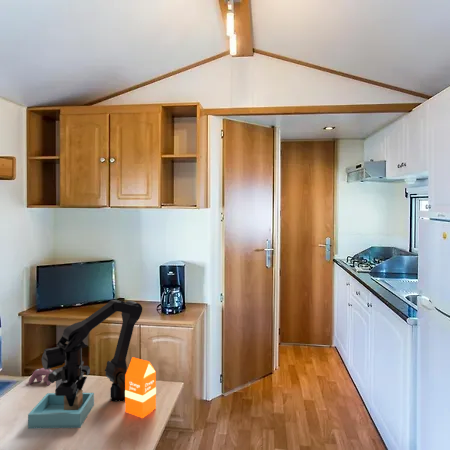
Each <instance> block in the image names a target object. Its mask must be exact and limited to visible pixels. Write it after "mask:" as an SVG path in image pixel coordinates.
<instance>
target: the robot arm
mask: <svg viewBox="0 0 450 450" xmlns="http://www.w3.org/2000/svg"><path fill="white" fill-rule="evenodd" d="M116 312H120V313H121V318H122V324H121V328H120V331H119V335H118V340H117V344H116V348H115V352H114V356H113V358H112V359H111V360H107V362H106V366H105V369H104V372H105V377H106V378H107V379H109V381H110V382H111V387H110V402H125V374H126V372H127V370H128V365H127V356H128V352H129V348H130V343H131V339H132V335H133V331H134V328H135V325H136V323H137V322H138V321H139V320H140V317H141V315H142V313H143V306H142V305H141V304H140V303H138V302H135V301H133V300H126V301H121V300H115V299H111V300H109V301H108V302H107V303H106V304H105V305H103V306H101V307H100V308H99V309H98V310H96V311H95V312H93V313H92V314H90V315H89V316H87V317H86V318H84V319H83V320H82V321H78V322H77V321H76V322H75V323H73V324H71V325H69V326H67V327H65V328H64V330H63V332H62V335H61V337H60V338H59V340H58V341H57V343H56V347H51V348H45V349H44V350H43V353H42V357H41V365H42V368H44V369H45V370H46V369H54V368H56V367H58V368H56V369H54V370H53V371H52V372H50V374H49V375H48V381H49V382H51V383H50V384H53V383H56V381H58V380H61V379H62V381H66V380H67V382H66V383H61V384H60V385H59V386H58V387H57V388H56V387H55V389H54V393H55V395H56V396H66V398H67V401H68V404H69V406H73V404H74V401H75V398H76V395H77V392H78V390H83V387H84V385H85V383H86V380H87V379H88V378H87V377H88V375H90V373H91V368H90V366H89V365H84V364H85V361H84V360H83V356H82V355H83V353H82V352H83V349H84V348H85V349H86V348H87V347H88V344H86V343H85V342H84V340H85V339H86V338H87V337H88V336H89V335H90V332H91V331H92V330H94V329H95V328H96V327H97V326H99V325H100V324H101V323H103V322H104V321H105V320H107V319H108V318H109V317H111V316H112V315H114V314H115V313H116ZM62 365H63V366H62ZM59 366H61V367H59ZM84 374H85V376H84Z"/></svg>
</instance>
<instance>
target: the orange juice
mask: <svg viewBox="0 0 450 450" xmlns="http://www.w3.org/2000/svg"><path fill="white" fill-rule="evenodd" d="M156 398H157V371H156V370H155V368H154V365H152V363H151V362H150V361H149V360H144V359H141V358H137V357H133V356H132V357H131V359H130V363H129V365H128V366H127V372H126V374H125V401H124V405H125V406H124V410H125V411H124V412H125V413H127V414H130V415H131V416H132V415H133V416H135V417H137V418H141V419H144V418H145V417H146V416H148V415H150V414H151V413H152V412H153V410H154V409H155V410H156V408H157V399H156ZM155 410H154V411H155Z"/></svg>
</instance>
